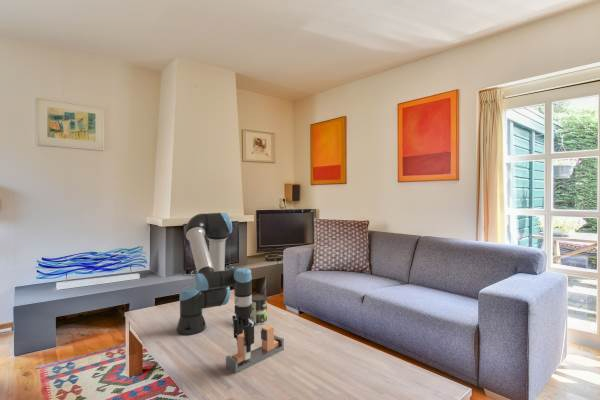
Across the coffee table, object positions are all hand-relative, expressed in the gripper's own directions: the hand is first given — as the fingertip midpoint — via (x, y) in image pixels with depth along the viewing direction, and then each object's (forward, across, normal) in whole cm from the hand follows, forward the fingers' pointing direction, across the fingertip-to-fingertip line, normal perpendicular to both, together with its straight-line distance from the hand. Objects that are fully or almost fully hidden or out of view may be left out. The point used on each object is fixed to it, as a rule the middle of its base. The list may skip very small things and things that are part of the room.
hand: (244, 356), depth 146 cm
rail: (+3, 0, +7) cm, 8 cm away
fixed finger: (+1, 0, +15) cm, 15 cm away
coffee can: (+3, -32, +35) cm, 48 cm away
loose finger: (0, 0, -1) cm, 1 cm away
